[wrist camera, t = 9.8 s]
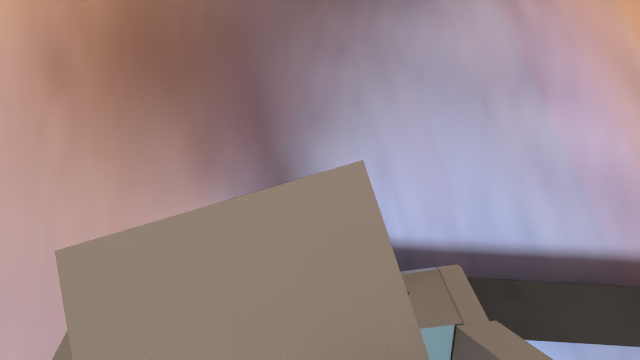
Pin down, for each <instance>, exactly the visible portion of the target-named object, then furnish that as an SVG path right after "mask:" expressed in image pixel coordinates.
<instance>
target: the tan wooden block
mask: <svg viewBox="0 0 640 360" xmlns="http://www.w3.org/2000/svg"><path fill="white" fill-rule="evenodd" d="M55 255H56V261H57V267H58V274H59V280H60V286H61V292H62V298H63V305H64V311H65V317H66V323H67V329H68V335H69V342H70V348H71V354H72V360H430V359H429V356H428V353H427V350H426V347H425V344H424V341H423V338H422V335H421V332H420V329H419V326H418V323H417V320H416V317H415V314H414V311H413V308H412V305H411V302H410V299H409V296H408V293H407V290H406V287H405V284H404V281H403V278H402V275H401V272H400V269H399V266H398V263H397V260H396V257H395V254H394V251H393V248H392V245H391V242H390V239H389V236H388V233H387V230H386V227H385V224H384V221H383V218H382V215H381V212H380V210H379V207H378V204H377V201H376V198H375V195H374V192H373V189H372V186H371V183H370V180H369V177H368V174H367V171H366V168H365V165H364V162H363V160H362V161H359V162H355V163H352V164H349V165H345V166H342V167H338V168H335V169H332V170H328V171H325V172H321V173H318V174H315V175H311V176H308V177H304V178H301V179H298V180H294V181H291V182H288V183H284V184H281V185H277V186H274V187H271V188H267V189H264V190H260V191H257V192H254V193H250V194H247V195H243V196H240V197H237V198H233V199H230V200H226V201H223V202H220V203H216V204H213V205H209V206H206V207H203V208H199V209H196V210H193V211H189V212H186V213H182V214H179V215H176V216H172V217H169V218H165V219H162V220H159V221H155V222H152V223H148V224H145V225H142V226H138V227H135V228H131V229H128V230H125V231H121V232H118V233H115V234H111V235H108V236H104V237H101V238H98V239H94V240H91V241H87V242H84V243H81V244H77V245H74V246H70V247H67V248H64V249H60V250H57V251H55Z"/></svg>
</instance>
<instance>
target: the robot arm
mask: <svg viewBox="0 0 640 360" xmlns="http://www.w3.org/2000/svg"><path fill="white" fill-rule="evenodd" d="M401 275H402V278H403V281H404V284H405V287H406V290H407V293H408V296H409V299H410V302H411V305H412V308H413V311H414V314H415V317H416V320H417V323H418V326H419V329H420V332H421V335H422V338H423V341H424V344H425V347H426V350H427V353H428V356H429V359H430V360H553V359H551V358H550V357H548V356H547V355H546V354H544V353H543V352H541V351H540V350H538V349H537V348H535V347H534V346H532V345H531V344H529V343H528V342H527V341H525V340H524V339H522V338H521V337H519V336H518V335H516V334H515V333H513V332H512V331H510V330H509V329H508V328H506V327H505V326H503V325H502V324H500V323H499V322H497V321H489V320H488V318H487V316H486V314H485V312H484V310H483V308H482V306H481V304H480V302H479V301H478V299H477V297H476V295H475V293H474V291H473V289H472V287H471V285H470V283H469V281H468V279H467V277H466V275H465V274H464V272H463V270H462V268H461V267H460V266H459V265H458V264H456V265H448V266H440V267H436V268H435V267H432V268H424V269H417V270H409V271H402V272H401ZM52 360H72V354H71V348H70V342H69V335H68V330H67V332H66V334H65V336H64V338H63V340H62V342H61V344H60V345H59V347H58V349H57V351H56V353H55V355H54V357H53V359H52Z"/></svg>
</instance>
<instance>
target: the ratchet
mask: <svg viewBox="0 0 640 360" xmlns="http://www.w3.org/2000/svg"><path fill="white" fill-rule="evenodd" d="M467 279H468V281H469V283H470V285H471V287H472V289H473V291H474V293H475V295H476V297H477V299H478V301H479V302H480V304H481V306H482V308H483V310H484V312H485V314H486V316H487V318H488V320H489V321H497V322H499V323H500V324H502V325H503V326H505V327H506V328H508V329H509V330H510V331H512V332H513V333H515V334H516V335H518V336H519V337H521V338H522V339H524V340H536V341H552V342H569V343H585V344H602V345H619V346H635V347H640V287H626V286H608V285H590V284H573V283H555V282H537V281H519V280H501V279H484V278H467Z"/></svg>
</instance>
